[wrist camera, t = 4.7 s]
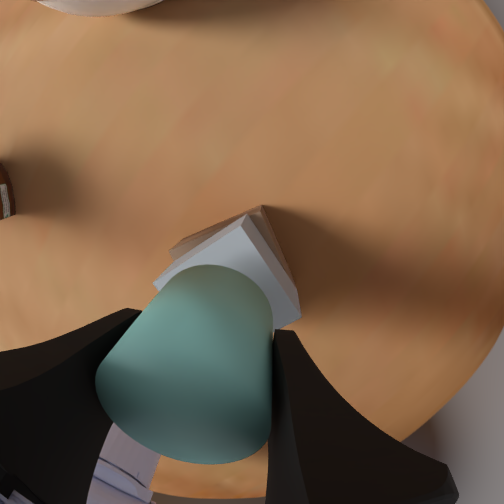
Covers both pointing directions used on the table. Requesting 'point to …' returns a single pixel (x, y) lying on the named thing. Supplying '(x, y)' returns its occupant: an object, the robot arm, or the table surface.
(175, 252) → the tower base
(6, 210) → the food container
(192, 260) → the tower top
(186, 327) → the teal rounded piece
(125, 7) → the lidded bowl
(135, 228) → the table surface
